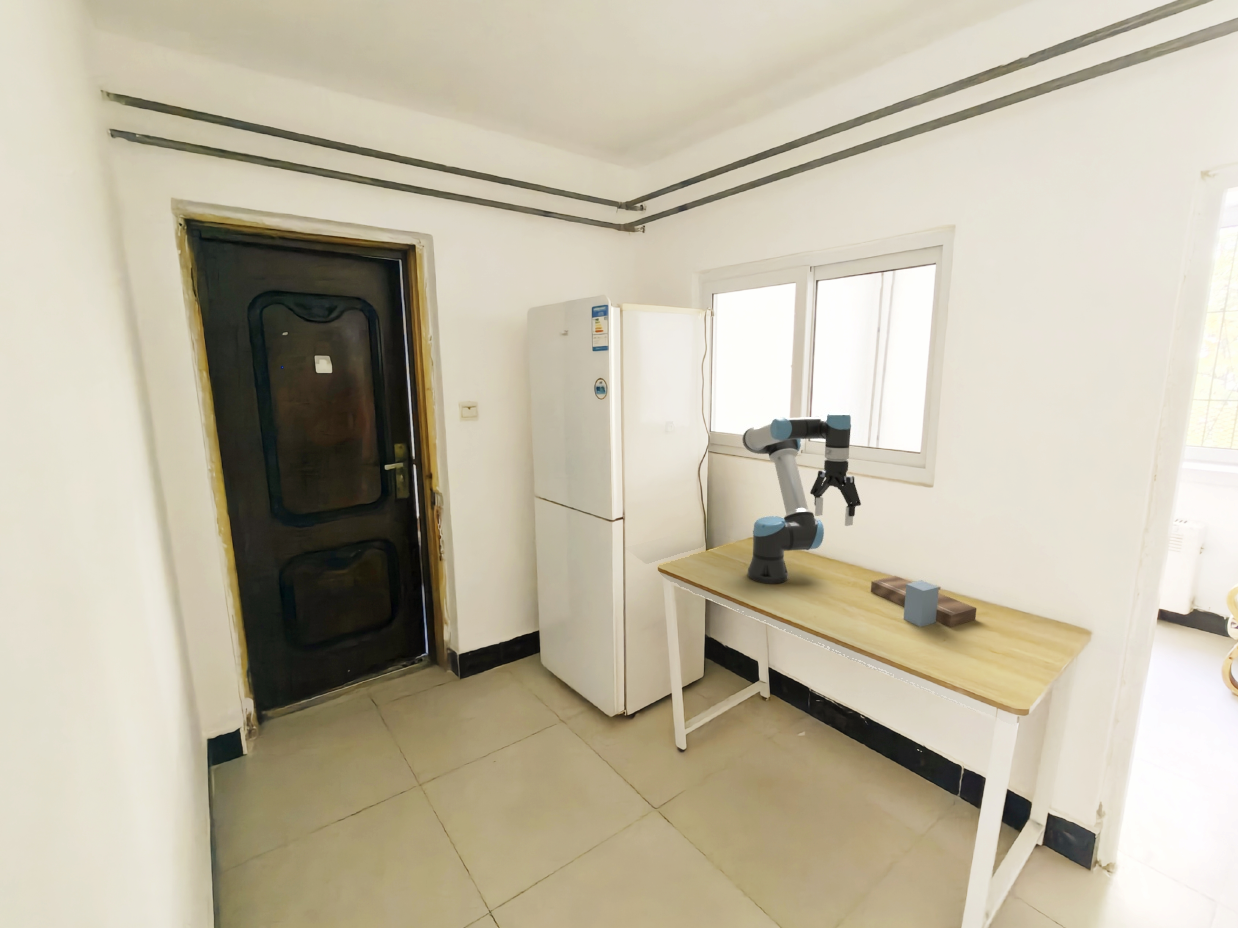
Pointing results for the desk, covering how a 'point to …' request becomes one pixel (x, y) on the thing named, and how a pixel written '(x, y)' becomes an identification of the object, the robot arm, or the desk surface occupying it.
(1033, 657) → the desk surface
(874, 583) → the plank
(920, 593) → the pale blue block
